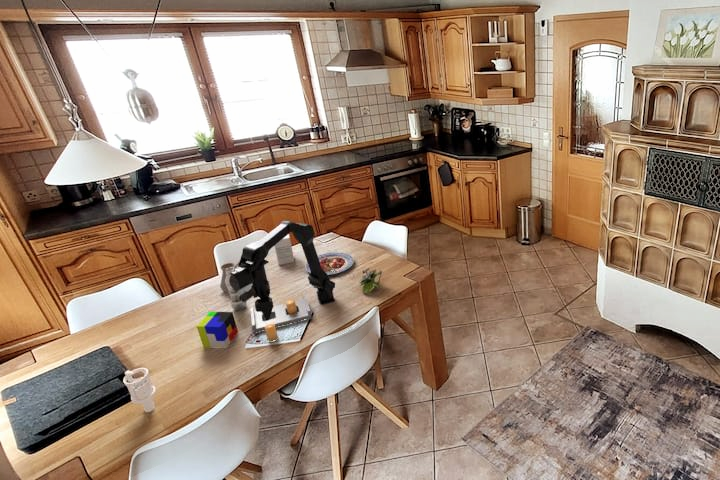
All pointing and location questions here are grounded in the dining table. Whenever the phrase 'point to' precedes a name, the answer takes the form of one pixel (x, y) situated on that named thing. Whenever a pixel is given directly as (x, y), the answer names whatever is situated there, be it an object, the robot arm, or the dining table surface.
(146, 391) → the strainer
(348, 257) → the ceramic plate
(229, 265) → the coffee pot
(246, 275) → the robot arm
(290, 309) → the orange tapered peg
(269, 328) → the orange rounded plug
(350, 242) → the dining table surface
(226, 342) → the puzzle toy
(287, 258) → the supplement box
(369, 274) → the green leafy clump
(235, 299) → the plastic bottle
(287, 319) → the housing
